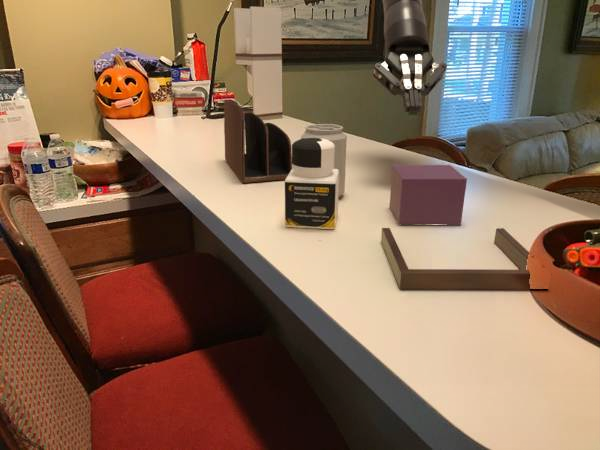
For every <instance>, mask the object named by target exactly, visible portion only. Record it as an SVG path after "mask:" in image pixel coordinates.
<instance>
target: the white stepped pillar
mask: <svg viewBox="0 0 600 450" xmlns="http://www.w3.org/2000/svg"><path fill="white" fill-rule="evenodd" d="M233 23H234V25H233V26H234V49H235V64H236V65H243V66H244V65H245V66H246V76H247V77H246V85H247V93H248V95H250V96H251V97H252V109H249V110H243V112H244V115H245V113H248V112H251V113H254V114H255V115H257V116H258V117H259V118H260V119H261V120H262V121H269V120H276V119H283V51H282V50H283V48H282V47H283V45H282V44H283V42H282V41H283V40H282V37H283V36H282V7H271V6H270V7H269V6H249V8H244V7H243V8H241V7H233Z"/></svg>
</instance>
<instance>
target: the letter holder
mask: <svg viewBox="0 0 600 450" xmlns="http://www.w3.org/2000/svg"><path fill="white" fill-rule="evenodd" d="M243 111H244V110H243V109H242V107H241V105H239V103H238V102H236V101H235V100H234V99H229V98H228V99H224V101H223V112H224V114H223V115H224V116H223V118H224V119H223V122H224V123H223V133H224V134H223V135H224V160H225V161H226V162H227V164H228V165H229V167H231V169H232V171H233V172H234V174H235V175H236V176H237V178H238V179H239V180H240V182H241V183H242V185H245V184H251V183H263V182H275V181H276V182H277V181H285V179H286V178H287V176H288V175H289V173H290V171H291V170H292V141H291V138H290V137H289V134H287V133H286V132H285V131H284V130H283V129H282V128H280V127H279V126H278V125H277V124H274V123H272V122H264V120H261V119H260V118H259V117H258V116H257V115H255V114H254V113H251V112H248V113H245V115H244V112H243Z"/></svg>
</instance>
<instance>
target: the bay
mask: <svg viewBox="0 0 600 450" xmlns="http://www.w3.org/2000/svg"><path fill="white" fill-rule="evenodd" d="M381 242H382V243H381ZM493 242H494V244H495V245H496V246H497V247H498V248H499V250H501V251H502V252H503V253H504V254H505V255H506V256H507V258H509V259H510V260H511V262H512V263H513V264H514V265H515V266H516V267H517V268H518V269H487V268H485V269H483V268H482V269H476V268H475V269H474V268H473V269H469V268H468V269H466V268H465V269H463V268H460V269H459V268H458V269H457V268H454V269H452V268H449V269H448V268H447V269H446V268H445V269H444V268H442V269H441V268H440V269H439V268H438V269H437V268H409V267H408V265H407V263H406V260H405V259H404V256H403V254H402V252H401V250H400V247H399V245H398V243H397V241H396V239H395V237H394V234H393V232H392V230H391V228H390V227H381V235H380V243H381V245H382V247H383V250H384V253H385V255H386V258H387V260H388V263H389V265H390V268H391V271H392V273H393V276H394V279H395V281H396V284H397V286H398V289H399V290H431V291H432V290H437V291H440V290H443V291H444V290H446V291H447V290H448V291H450V290H451V291H452V290H453V291H455V290H456V291H457V290H459V291H460V290H461V291H463V290H465V291H466V290H467V291H468V290H470V291H471V290H472V291H473V290H474V291H475V290H476V291H478V290H479V291H481V290H482V291H531V290H530V284H529V279H530V272H529V270H526V265H527V259H528V255H529V253H530V252H529V250H527V248H526V247H524V246H523V245H522V244H521V243H520V242H519V241H518V240H517V239H516V238H514V237H513V236H512V234H510V233H509V232H508V231H507V230H506V229H505V228H501V227H500V228H499V227H497V228H496V229H495V235H494V240H493Z"/></svg>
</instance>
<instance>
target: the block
mask: <svg viewBox="0 0 600 450" xmlns="http://www.w3.org/2000/svg"><path fill="white" fill-rule="evenodd" d="M467 182H468V178H466V177H465V176H464V175H463V174H461V172H459V170H457V169H456V168H455V167H453V166H452V165H451V164H392V169H391V180H390V193H389V195H390V197H389V209H390V208H391V209H390V211H391V210H392V211H391V213H392V212H393V213H392V215H393V214H394V215H393V216H395V217H394V219H395V218H396V219H395V220H397V221H398V222H397V221H396V222H397V224H398V223H399V224H447V225H446V226H461V225H462V219H463V211H464V205H465V197H466V188H467ZM399 224H398V225H399Z"/></svg>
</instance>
